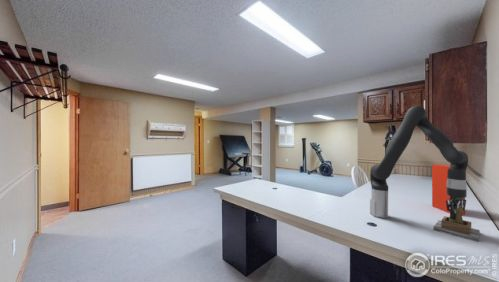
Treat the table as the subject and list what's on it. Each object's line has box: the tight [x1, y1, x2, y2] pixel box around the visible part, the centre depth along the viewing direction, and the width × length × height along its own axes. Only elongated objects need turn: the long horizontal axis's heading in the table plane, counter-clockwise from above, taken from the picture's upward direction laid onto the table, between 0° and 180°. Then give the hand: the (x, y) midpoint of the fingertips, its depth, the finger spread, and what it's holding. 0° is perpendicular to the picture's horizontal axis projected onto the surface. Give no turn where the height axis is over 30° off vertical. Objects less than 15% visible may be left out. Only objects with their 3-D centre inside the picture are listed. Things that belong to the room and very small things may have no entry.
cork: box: [448, 206, 464, 225], centre depth 107 cm, size 6×6×11 cm
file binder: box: [431, 164, 466, 216], centre depth 141 cm, size 8×17×32 cm, turn 172°
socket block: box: [433, 215, 481, 242], centre depth 107 cm, size 16×16×6 cm
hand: (456, 218), depth 107 cm, fingers closed on cork, 5 cm apart
